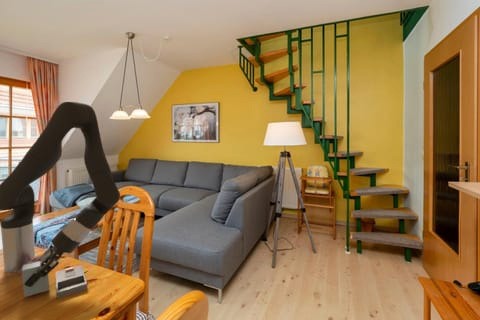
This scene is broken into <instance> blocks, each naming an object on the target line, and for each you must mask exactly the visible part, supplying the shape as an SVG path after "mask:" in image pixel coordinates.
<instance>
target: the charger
mask: <svg viewBox="0 0 480 320" xmlns="http://www.w3.org/2000/svg"><path fill="white" fill-rule="evenodd" d="M41 262H42V261H38V262H34V263H30V264H26V265H23V268H22V276H21V277H22V287H23V297H24V298H25V297H29V296H33V295H36V294H39V293H43V292H46V291H49V290H50V278H49V277H50V276H49V273H48V274H47V275H46V276H45V277H42V276H41V277H40V278H39V279H38V281H37V282H36V283H35V284H34V285H33V286H32V287H28V286H26V285H25V282H26V281H27V280H28V279H29V278H30V277H31V276H32V275H33V274H34V273H35V271H36V270H37V269H38V268H39V267H40V263H41ZM44 264H46V263H45V262H44ZM42 271H43V272H44V271H45V270H42Z"/></svg>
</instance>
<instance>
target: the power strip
mask: <svg viewBox="0 0 480 320" xmlns="http://www.w3.org/2000/svg"><path fill="white" fill-rule="evenodd" d="M83 267H84V266H83V264H80V265H77V266H70V267H66V268H65V269H62V270H58V271H55V286H56V287H55V290H56V292H55V293H56V299H57V300H58V299H59V300H60V299H62V298H66V297H68V296H72V295H75V294H78V293H81V292H84V291H87V290H88V282H87V279H86V275H85V271H84V268H83Z"/></svg>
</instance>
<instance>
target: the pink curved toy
mask: <svg viewBox="0 0 480 320" xmlns="http://www.w3.org/2000/svg"><path fill="white" fill-rule="evenodd" d="M42 255H43V254H40V255H36V256H35V258H34V259H33V260H31V261H29V262H28V263H27V264H30V263H34V262H37V261H38V260H39V259H40V258H41V256H42ZM17 274H18V276H21V277H22V269H20V270H19V271H18V272H17Z"/></svg>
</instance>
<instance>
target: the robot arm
mask: <svg viewBox="0 0 480 320" xmlns="http://www.w3.org/2000/svg"><path fill="white" fill-rule="evenodd" d="M73 129H79V130H80V132H81V133H82V135H83V138H84V143H85V145H84V154H83V161H84V165H85V168H86V170H87V173H88V176H89V179H90V180H91V182H92V186H93V190H94V192H95V196H96V197H95V198H94V199H93V200H92V201H91V202H90V203H89V204H88V205H86V206H84V207H83V209H82V210H80V211H79V212H78V214H77V215H75V216H74V218H72V219H71V220H70V221H69V222H68V223H66V224H65V226H64V227H63V228H62V229H60V231H59V232H58V233H57V234H56V235H55V236H54V237H53V238H52V239H51V244H50V245H49V247H48V248H47V250H45V252H44V253H43V254H41V255H42V256H41V258H40V259H39V260H38V261H42V262H41V263H40V267H39V268H38V269H37V270H36V271H35V273H34V274H33V275H32V276H31V277H30V278H29V279H28V280H27V281H26V282H25V285H26V286H28V287H32V286H33V285H34V284H35V283H36V282H37V281H38V279H39V278H40V277H41V276H42V277H45V276H46V275H47V274H48V275H49V274H50V273H51V272H52V271H53V270H54V269H55V268H56V267H58V265H59V263H60V260H61V258H62V256H63V255H64V253H65V254H66V253H67V254H72V253H74V251H75V250H76V249H77V248H78V247H79V245H80V244H81V243H83V241H84V240H85V239H86V238H87V237H88V236H89V234H90V233H91V231H92V230H93V229H94V228H96V226H97V225H98V224H99V223H100V221H101V220H102V219H103V217H104V216H106V214H107V213H109V211H111V210H112V209H113V208H114V206H115V205H117V203H119V201H120V199H121V193H120V191H119V188H118V187H117V184H116V182H115V180H114V178H113V173H112V170H111V168H110V165H109V162H108V160H107V157H106V154H105V151H104V147H103V144H102V139H101V133H100V128H99V123H98V118H97V115H96V112H95V110H94V108H93V107H92V106H91V105H89V104H86V103H82V102H77V101H74V100H73V101H72V100H66V101H63V102H61V103H60V104H59V105H57V107H56V109H55V110H54V111H53V113H52V116H51V117H50V119H49V121H48V122H47V124H46V126H45V128H44V129H43V130H42V132H41V133H40V134H39V136H38V137H37V139H36V141H35V142H34V143H33V144H32V146H31V147H29V149H28V151H27V152H26V153H25V155H24V156H23V157H22V159H21V161H20V162H18V164H17V165H16V166H15V167H14V169H13V170H12V171H11V172H10V174H8V176H7V177H6V178H5V179H4V180H2V182H1V183H0V211H9V210H11V211H10V212H9V214H8V215H6V216H5V217H3V218H2V219H1V221H0V231H1V241H2V243H1V244H2V255H3V256H2V258H3V270H4V272H5V273H18V272H19V270H20V269H22V268H23V265H26V264H27V263H28V262H29V261H31V260H33V259H34V258H35V257H36V251H35V249H36V248H35V235H34V223H33V221H34V216H35V204H36V203H35V202H36V201H35V197H36V196H35V192H34V188H33V187H32V185H31V184H32V183H34V182H35V181H37V180H38V179H40V178H41V177H43V176H45V175H46V174H47V173H49V172H50V171H51V170H52V169H53V168H54V167H55V165H56V164H57V163H58V161H60V159H61V157H62V153H63V143H62V142H63V140H64V138H65V137H66V136H67V134H68V133H69V132H70V131H71V130H73ZM38 261H37V262H38ZM44 262H45V263H46V264H44ZM42 270H45V271H44V272H43V271H42Z"/></svg>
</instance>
